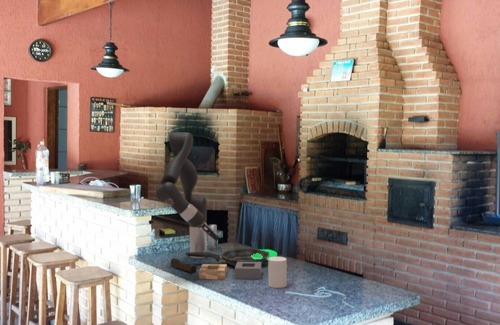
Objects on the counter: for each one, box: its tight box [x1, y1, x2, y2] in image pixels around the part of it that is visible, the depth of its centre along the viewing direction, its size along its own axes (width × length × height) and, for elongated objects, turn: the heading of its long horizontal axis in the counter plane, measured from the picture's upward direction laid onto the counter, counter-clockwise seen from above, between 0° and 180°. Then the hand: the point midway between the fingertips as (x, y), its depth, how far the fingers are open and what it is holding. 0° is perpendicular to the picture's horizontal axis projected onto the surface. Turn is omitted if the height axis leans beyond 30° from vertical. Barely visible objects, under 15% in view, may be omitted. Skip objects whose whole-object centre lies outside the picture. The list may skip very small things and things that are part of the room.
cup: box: [267, 256, 288, 289], centre depth 227 cm, size 8×8×12 cm
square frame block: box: [198, 263, 228, 280], centre depth 243 cm, size 12×12×4 cm
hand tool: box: [170, 258, 198, 274], centre depth 254 cm, size 19×4×5 cm, turn 42°
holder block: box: [234, 262, 262, 280], centre depth 243 cm, size 12×12×5 cm
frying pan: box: [185, 248, 270, 267], centre depth 264 cm, size 44×25×7 cm, turn 95°
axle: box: [207, 224, 218, 252], centre depth 242 cm, size 4×4×12 cm
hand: (216, 238), depth 242 cm, fingers closed on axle, 4 cm apart
